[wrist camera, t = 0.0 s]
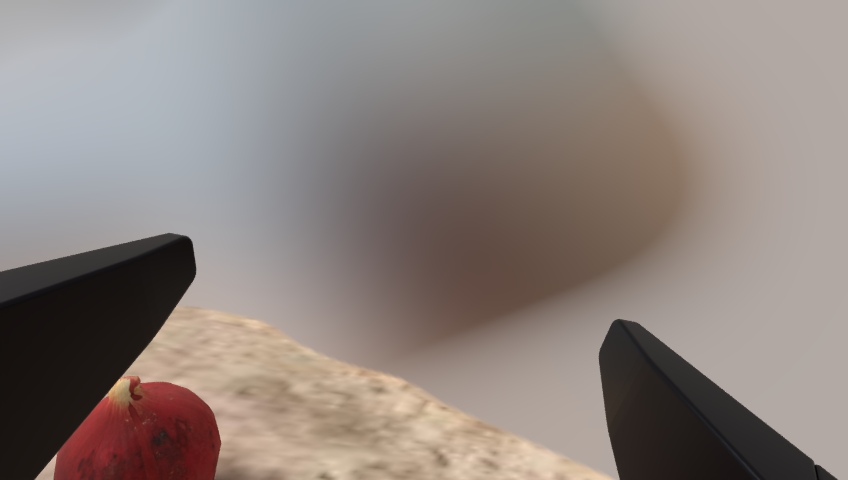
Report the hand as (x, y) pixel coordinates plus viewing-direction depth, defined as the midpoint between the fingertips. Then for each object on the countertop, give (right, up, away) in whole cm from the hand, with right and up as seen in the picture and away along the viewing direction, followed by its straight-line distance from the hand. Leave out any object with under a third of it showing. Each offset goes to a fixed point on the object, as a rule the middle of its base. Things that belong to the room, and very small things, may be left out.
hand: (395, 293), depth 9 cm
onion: (-12, -12, +11) cm, 20 cm away
